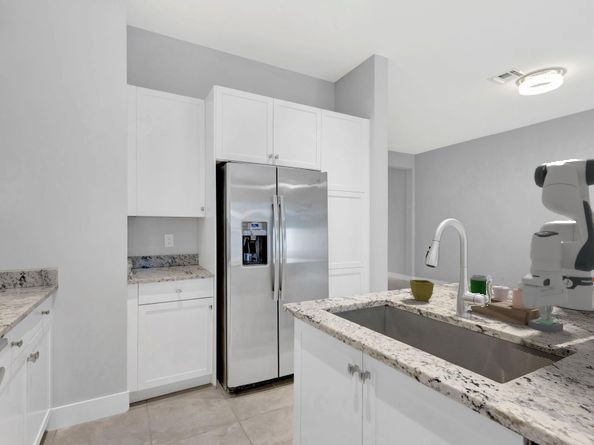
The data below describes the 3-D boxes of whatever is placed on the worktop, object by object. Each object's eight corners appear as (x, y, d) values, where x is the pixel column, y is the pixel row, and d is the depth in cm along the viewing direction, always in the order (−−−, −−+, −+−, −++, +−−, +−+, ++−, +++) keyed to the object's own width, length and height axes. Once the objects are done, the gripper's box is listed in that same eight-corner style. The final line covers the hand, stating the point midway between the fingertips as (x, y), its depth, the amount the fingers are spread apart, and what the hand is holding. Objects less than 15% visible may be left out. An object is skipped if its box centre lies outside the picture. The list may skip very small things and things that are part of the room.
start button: (542, 327, 114) (542, 317, 114) (555, 330, 110) (555, 320, 110) (535, 328, 112) (535, 318, 112) (548, 331, 108) (548, 321, 108)
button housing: (540, 327, 116) (540, 318, 116) (563, 332, 109) (563, 324, 109) (528, 329, 113) (528, 320, 113) (551, 335, 106) (551, 326, 106)
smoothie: (509, 312, 136) (510, 278, 136) (491, 310, 139) (492, 277, 139) (509, 309, 141) (509, 276, 141) (492, 307, 145) (492, 275, 145)
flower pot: (434, 302, 152) (434, 283, 152) (415, 301, 152) (415, 282, 153) (427, 298, 161) (427, 279, 161) (409, 297, 161) (409, 279, 161)
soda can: (490, 303, 152) (490, 277, 152) (473, 302, 154) (473, 276, 154) (484, 299, 160) (484, 275, 160) (468, 298, 161) (468, 274, 161)
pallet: (488, 309, 140) (488, 296, 140) (545, 323, 120) (546, 308, 120) (468, 312, 134) (468, 299, 134) (524, 327, 114) (524, 312, 114)
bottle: (518, 316, 125) (518, 280, 126) (535, 320, 120) (535, 282, 120) (508, 318, 123) (509, 281, 123) (525, 322, 117) (525, 283, 118)
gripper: (552, 275, 119) (552, 313, 118) (518, 278, 110) (518, 319, 110) (573, 278, 113) (572, 318, 113) (538, 281, 104) (538, 325, 104)
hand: (545, 319), depth 111 cm, fingers closed, pressing on start button
